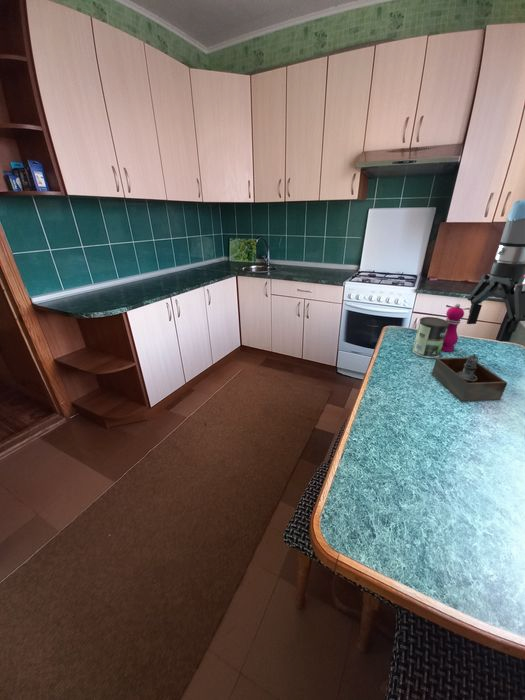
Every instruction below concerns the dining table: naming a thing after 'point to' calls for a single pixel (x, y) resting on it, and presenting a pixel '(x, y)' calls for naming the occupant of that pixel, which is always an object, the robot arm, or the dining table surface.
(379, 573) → the dining table surface
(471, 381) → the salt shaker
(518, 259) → the robot arm
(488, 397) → the holder
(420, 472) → the dining table surface
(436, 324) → the coffee can
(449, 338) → the pepper mill
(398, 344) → the dining table surface
